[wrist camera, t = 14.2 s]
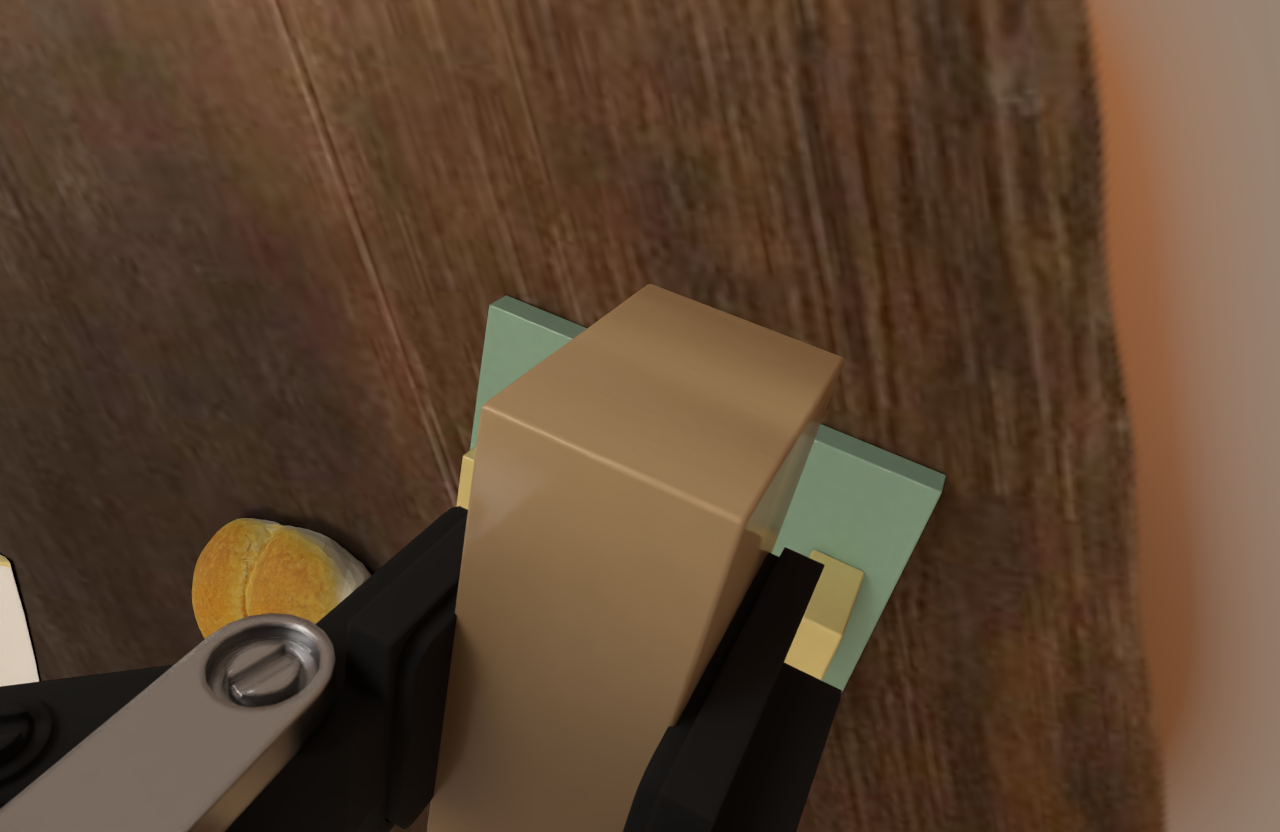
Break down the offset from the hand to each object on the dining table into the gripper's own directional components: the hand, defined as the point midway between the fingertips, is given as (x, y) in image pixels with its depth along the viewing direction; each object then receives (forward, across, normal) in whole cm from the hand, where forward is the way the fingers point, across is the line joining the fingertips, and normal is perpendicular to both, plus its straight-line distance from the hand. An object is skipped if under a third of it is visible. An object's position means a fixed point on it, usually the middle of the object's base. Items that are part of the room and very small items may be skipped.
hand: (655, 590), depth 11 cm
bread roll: (+13, +17, +21) cm, 30 cm away
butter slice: (+12, -2, +9) cm, 16 cm away
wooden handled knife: (0, 0, +5) cm, 5 cm away
